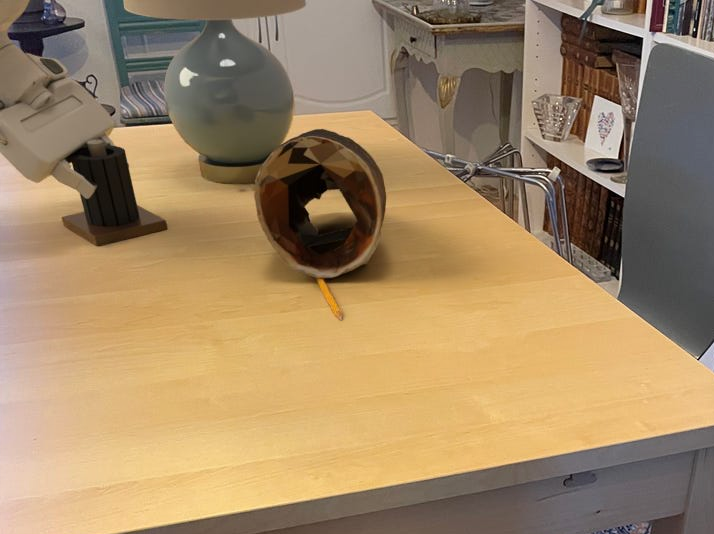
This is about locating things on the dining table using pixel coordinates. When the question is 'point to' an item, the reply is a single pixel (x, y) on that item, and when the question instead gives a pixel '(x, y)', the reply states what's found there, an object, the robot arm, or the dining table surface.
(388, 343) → the dining table surface
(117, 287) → the dining table surface
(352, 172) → the clay pot
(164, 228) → the peg stand
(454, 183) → the dining table surface
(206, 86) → the lamp
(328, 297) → the pencil
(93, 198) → the ribbed black tube
